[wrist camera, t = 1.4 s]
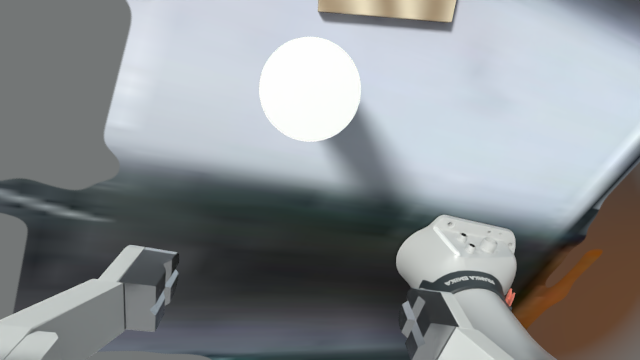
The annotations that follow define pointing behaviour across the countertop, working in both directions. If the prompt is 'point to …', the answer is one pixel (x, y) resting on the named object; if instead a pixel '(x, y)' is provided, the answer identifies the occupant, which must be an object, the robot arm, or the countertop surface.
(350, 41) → the countertop surface
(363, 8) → the seat board
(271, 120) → the cylindrical container
